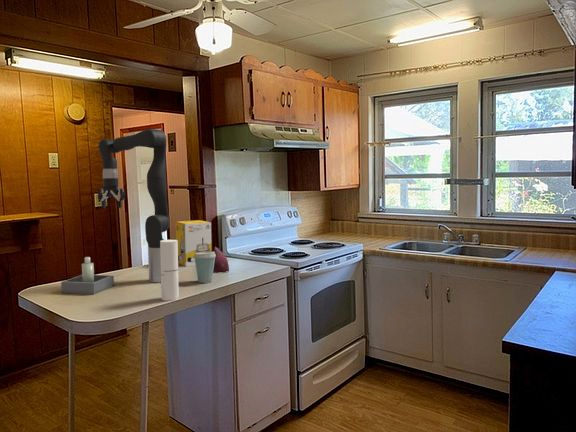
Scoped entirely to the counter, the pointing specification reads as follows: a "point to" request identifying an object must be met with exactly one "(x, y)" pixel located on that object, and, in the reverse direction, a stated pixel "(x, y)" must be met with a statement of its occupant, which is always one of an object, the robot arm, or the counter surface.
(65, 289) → the bin
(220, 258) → the vegetable
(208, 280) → the disposable coffee cup
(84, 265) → the cruet
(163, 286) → the cylindrical container
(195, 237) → the packaging box
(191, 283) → the counter surface
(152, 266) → the robot arm
